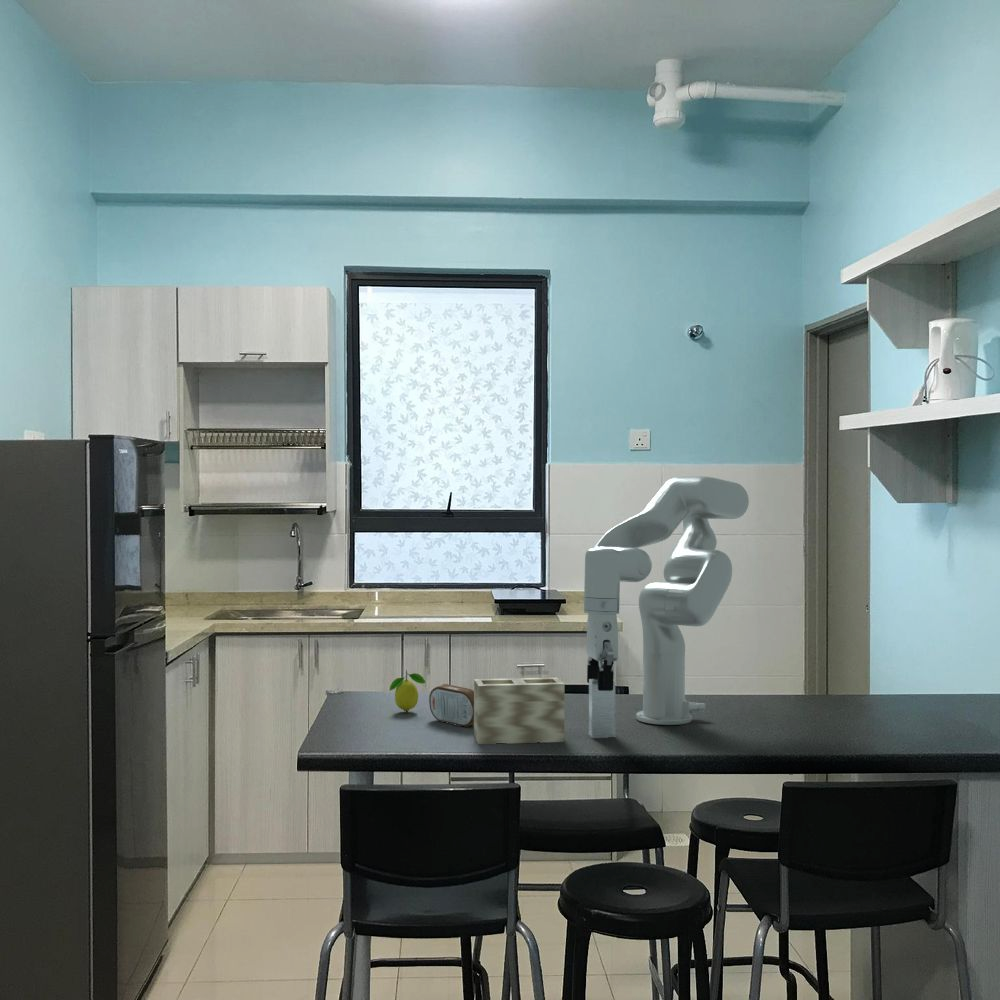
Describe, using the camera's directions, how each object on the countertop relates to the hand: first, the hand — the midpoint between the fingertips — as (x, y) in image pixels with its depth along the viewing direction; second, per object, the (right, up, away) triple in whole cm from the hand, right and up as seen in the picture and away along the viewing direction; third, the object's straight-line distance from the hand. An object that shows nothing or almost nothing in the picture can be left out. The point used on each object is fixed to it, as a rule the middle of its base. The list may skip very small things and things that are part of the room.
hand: (599, 686), depth 213 cm
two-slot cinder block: (-17, -11, -2) cm, 20 cm away
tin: (-31, -11, +12) cm, 35 cm away
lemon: (-43, -11, +25) cm, 51 cm away
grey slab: (+1, -11, 0) cm, 11 cm away
